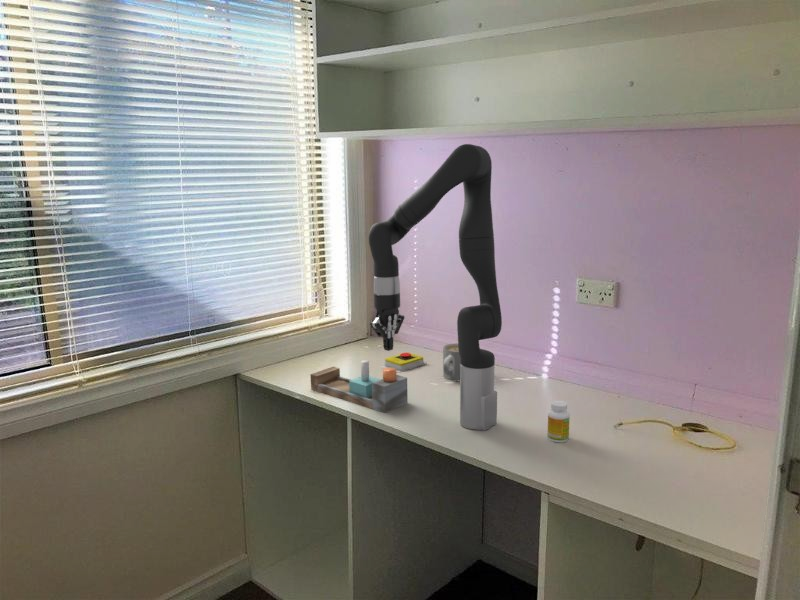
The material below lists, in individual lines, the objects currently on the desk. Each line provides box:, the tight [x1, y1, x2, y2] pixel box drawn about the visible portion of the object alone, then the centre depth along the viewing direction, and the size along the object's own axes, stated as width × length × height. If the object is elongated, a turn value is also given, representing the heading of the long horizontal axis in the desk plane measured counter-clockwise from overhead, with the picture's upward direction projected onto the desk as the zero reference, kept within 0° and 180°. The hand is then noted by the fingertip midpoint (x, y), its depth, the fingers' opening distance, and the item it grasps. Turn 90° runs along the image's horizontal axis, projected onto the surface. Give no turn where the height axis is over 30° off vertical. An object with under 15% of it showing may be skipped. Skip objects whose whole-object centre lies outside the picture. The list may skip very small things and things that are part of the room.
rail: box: [309, 366, 409, 414], centre depth 204 cm, size 32×10×8 cm, turn 49°
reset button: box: [382, 368, 398, 382], centre depth 194 cm, size 4×4×3 cm
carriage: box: [349, 359, 382, 398], centre depth 201 cm, size 7×7×10 cm
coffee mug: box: [442, 342, 460, 381], centre depth 219 cm, size 13×10×10 cm
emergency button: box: [380, 352, 427, 374], centre depth 233 cm, size 9×4×15 cm
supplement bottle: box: [547, 400, 571, 443], centre depth 170 cm, size 5×5×10 cm
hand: (388, 349), depth 192 cm, fingers closed
